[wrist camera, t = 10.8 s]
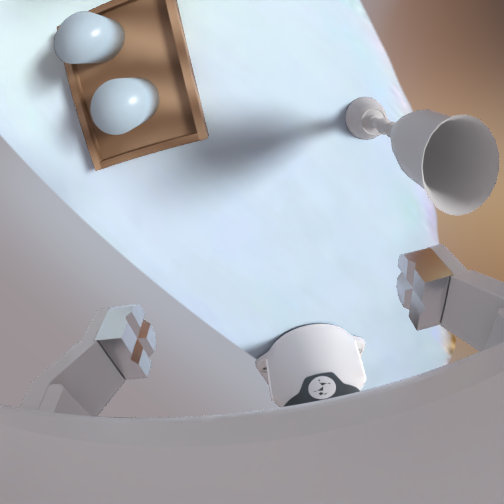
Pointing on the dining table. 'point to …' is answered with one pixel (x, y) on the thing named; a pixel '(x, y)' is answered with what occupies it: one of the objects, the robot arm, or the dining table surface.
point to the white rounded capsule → (88, 39)
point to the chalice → (435, 152)
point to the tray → (146, 66)
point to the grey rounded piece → (124, 104)
